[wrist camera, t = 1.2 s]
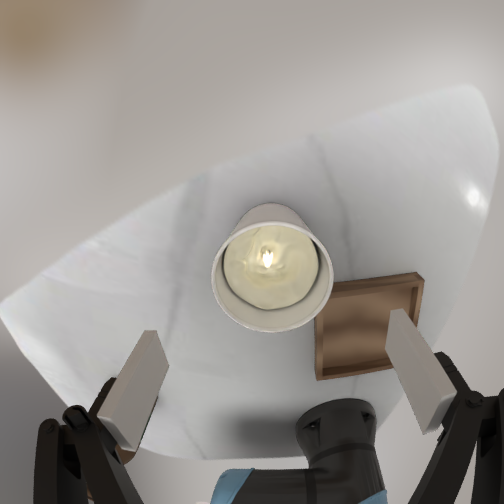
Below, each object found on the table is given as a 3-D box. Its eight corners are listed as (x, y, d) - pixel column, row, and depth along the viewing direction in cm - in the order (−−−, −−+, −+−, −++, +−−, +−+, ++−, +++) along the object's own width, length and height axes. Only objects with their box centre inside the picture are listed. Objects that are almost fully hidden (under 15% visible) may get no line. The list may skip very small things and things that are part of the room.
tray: (402, 354, 39) (407, 364, 37) (314, 369, 41) (316, 380, 38) (416, 272, 35) (424, 279, 32) (313, 284, 36) (316, 294, 33)
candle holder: (244, 184, 32) (231, 204, 21) (325, 212, 33) (353, 246, 21) (219, 261, 35) (198, 313, 24) (294, 285, 36) (305, 345, 25)
